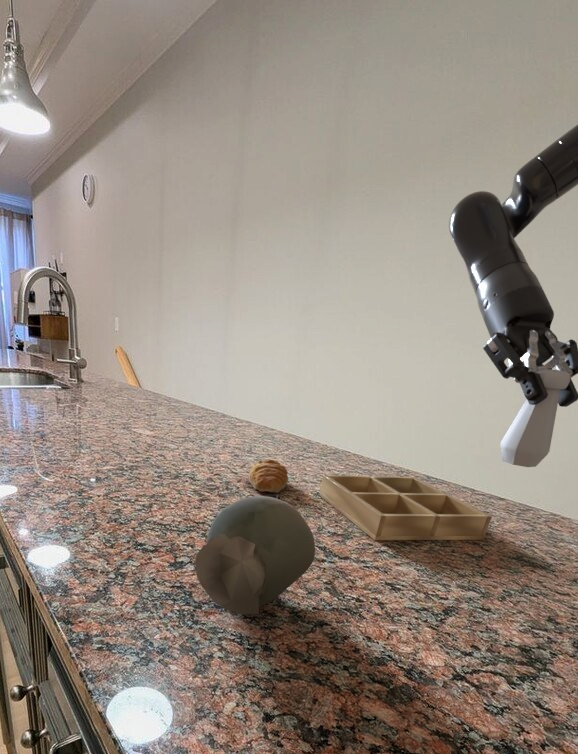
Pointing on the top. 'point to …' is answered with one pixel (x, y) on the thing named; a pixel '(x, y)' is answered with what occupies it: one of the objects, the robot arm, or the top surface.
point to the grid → (403, 508)
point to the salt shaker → (534, 424)
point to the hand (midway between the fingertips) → (554, 401)
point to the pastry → (268, 476)
